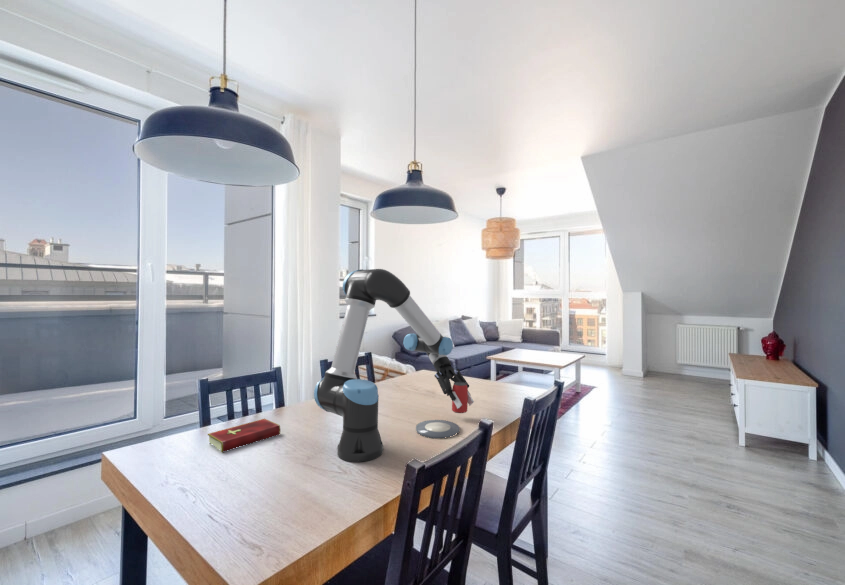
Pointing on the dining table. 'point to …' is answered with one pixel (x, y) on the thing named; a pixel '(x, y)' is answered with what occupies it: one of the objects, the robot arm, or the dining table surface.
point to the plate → (437, 428)
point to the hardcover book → (243, 434)
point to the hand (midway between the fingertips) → (465, 405)
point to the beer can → (460, 396)
